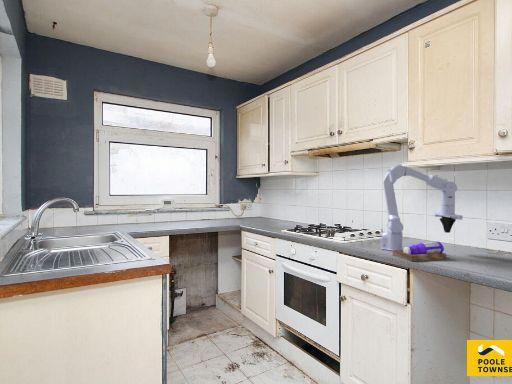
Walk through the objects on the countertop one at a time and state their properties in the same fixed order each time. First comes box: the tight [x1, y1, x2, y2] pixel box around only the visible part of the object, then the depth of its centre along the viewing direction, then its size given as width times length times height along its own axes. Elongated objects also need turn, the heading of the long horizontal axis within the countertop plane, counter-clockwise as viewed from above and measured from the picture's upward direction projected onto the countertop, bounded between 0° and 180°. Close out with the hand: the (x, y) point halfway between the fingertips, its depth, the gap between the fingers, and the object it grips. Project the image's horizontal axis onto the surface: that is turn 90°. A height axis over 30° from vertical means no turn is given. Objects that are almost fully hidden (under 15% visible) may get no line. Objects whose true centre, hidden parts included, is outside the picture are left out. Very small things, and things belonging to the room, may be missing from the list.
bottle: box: [403, 241, 445, 255], centre depth 141 cm, size 7×6×17 cm
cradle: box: [392, 250, 447, 262], centre depth 142 cm, size 19×12×2 cm, turn 105°
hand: (447, 232), depth 151 cm, fingers closed
